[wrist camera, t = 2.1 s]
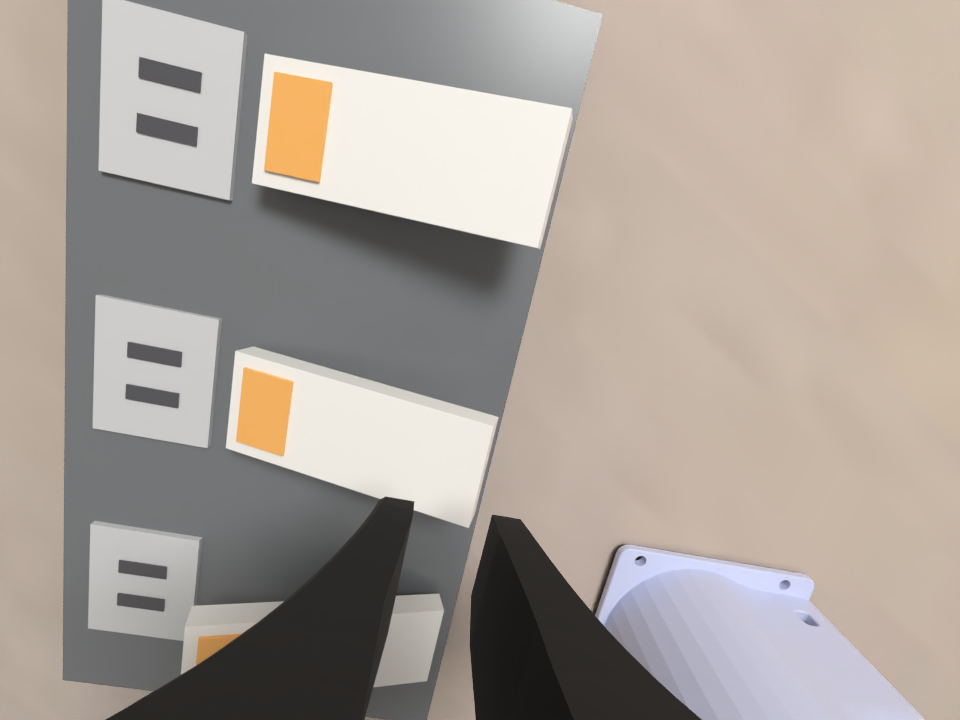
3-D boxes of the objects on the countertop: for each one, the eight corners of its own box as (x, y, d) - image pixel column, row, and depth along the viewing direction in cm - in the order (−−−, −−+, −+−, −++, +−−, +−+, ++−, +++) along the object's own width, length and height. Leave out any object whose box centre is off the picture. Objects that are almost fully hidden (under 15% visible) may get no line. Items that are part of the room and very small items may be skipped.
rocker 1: (572, 118, 11) (572, 107, 11) (540, 249, 12) (537, 247, 11) (283, 66, 13) (261, 51, 12) (270, 187, 13) (249, 182, 13)
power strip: (576, 55, 16) (613, -2, 12) (429, 660, 22) (423, 747, 18) (146, -65, 14) (36, -172, 11) (118, 617, 21) (42, 702, 17)
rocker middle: (498, 417, 13) (493, 427, 12) (474, 514, 14) (467, 530, 13) (253, 346, 15) (233, 351, 14) (243, 438, 15) (223, 449, 14)
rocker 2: (439, 593, 17) (444, 612, 16) (422, 661, 18) (427, 683, 17) (192, 605, 14) (183, 629, 14) (184, 686, 15) (177, 713, 14)
